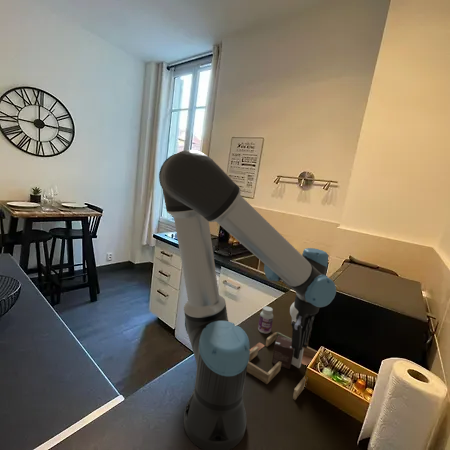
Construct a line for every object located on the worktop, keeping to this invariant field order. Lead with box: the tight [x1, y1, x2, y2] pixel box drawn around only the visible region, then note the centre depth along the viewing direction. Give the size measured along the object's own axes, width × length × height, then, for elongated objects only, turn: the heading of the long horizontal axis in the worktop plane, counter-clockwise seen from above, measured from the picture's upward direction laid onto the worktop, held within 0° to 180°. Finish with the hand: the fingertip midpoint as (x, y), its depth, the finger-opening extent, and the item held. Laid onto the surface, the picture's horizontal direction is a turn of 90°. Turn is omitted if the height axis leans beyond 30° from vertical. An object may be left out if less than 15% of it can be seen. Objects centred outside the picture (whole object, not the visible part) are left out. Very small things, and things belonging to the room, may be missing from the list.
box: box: [271, 335, 294, 370], centre depth 89 cm, size 6×6×7 cm
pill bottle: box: [257, 305, 274, 334], centre depth 107 cm, size 5×5×10 cm
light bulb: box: [289, 301, 298, 326], centre depth 115 cm, size 7×7×11 cm
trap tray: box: [246, 330, 318, 401], centre depth 89 cm, size 24×22×3 cm
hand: (295, 365), depth 87 cm, fingers closed
